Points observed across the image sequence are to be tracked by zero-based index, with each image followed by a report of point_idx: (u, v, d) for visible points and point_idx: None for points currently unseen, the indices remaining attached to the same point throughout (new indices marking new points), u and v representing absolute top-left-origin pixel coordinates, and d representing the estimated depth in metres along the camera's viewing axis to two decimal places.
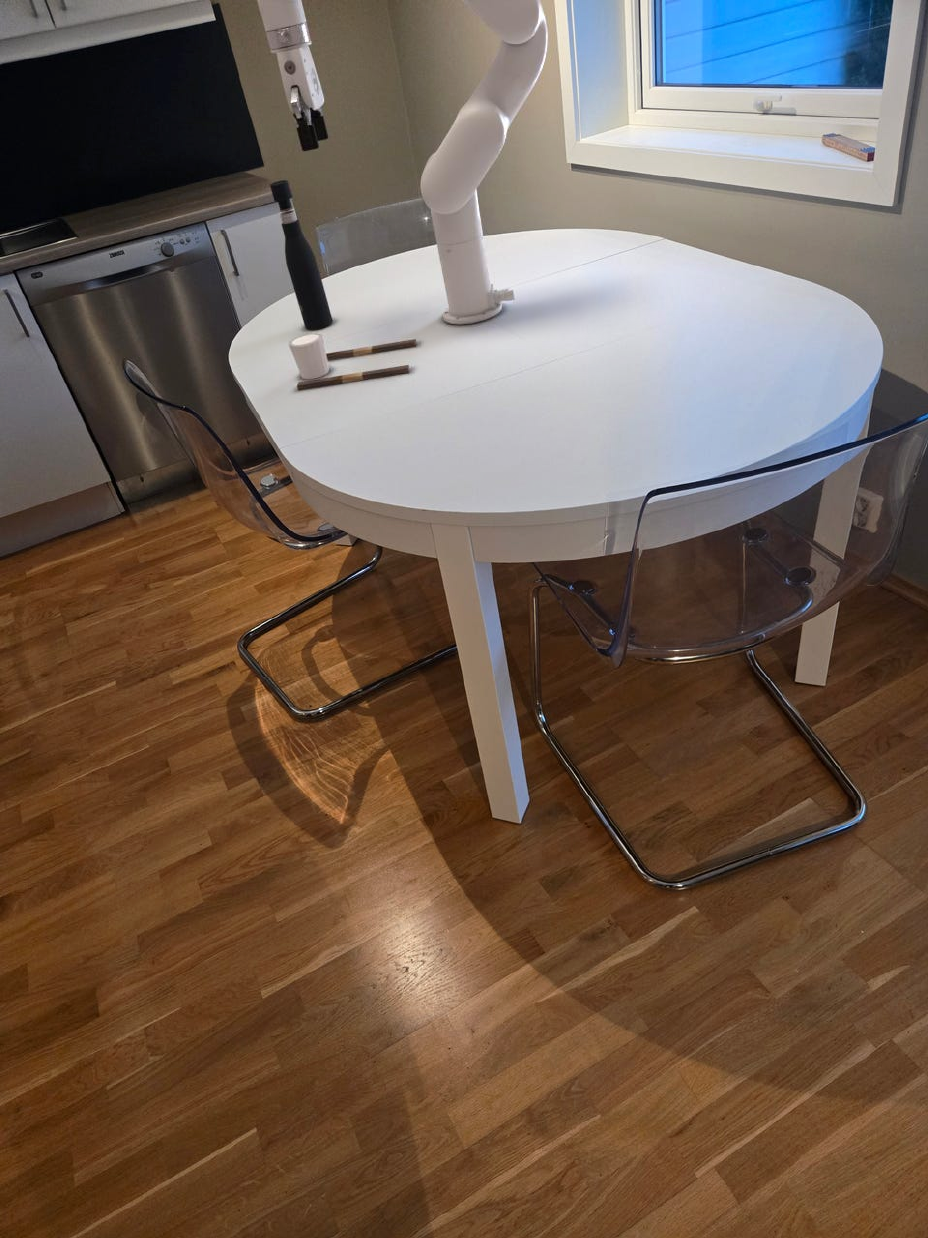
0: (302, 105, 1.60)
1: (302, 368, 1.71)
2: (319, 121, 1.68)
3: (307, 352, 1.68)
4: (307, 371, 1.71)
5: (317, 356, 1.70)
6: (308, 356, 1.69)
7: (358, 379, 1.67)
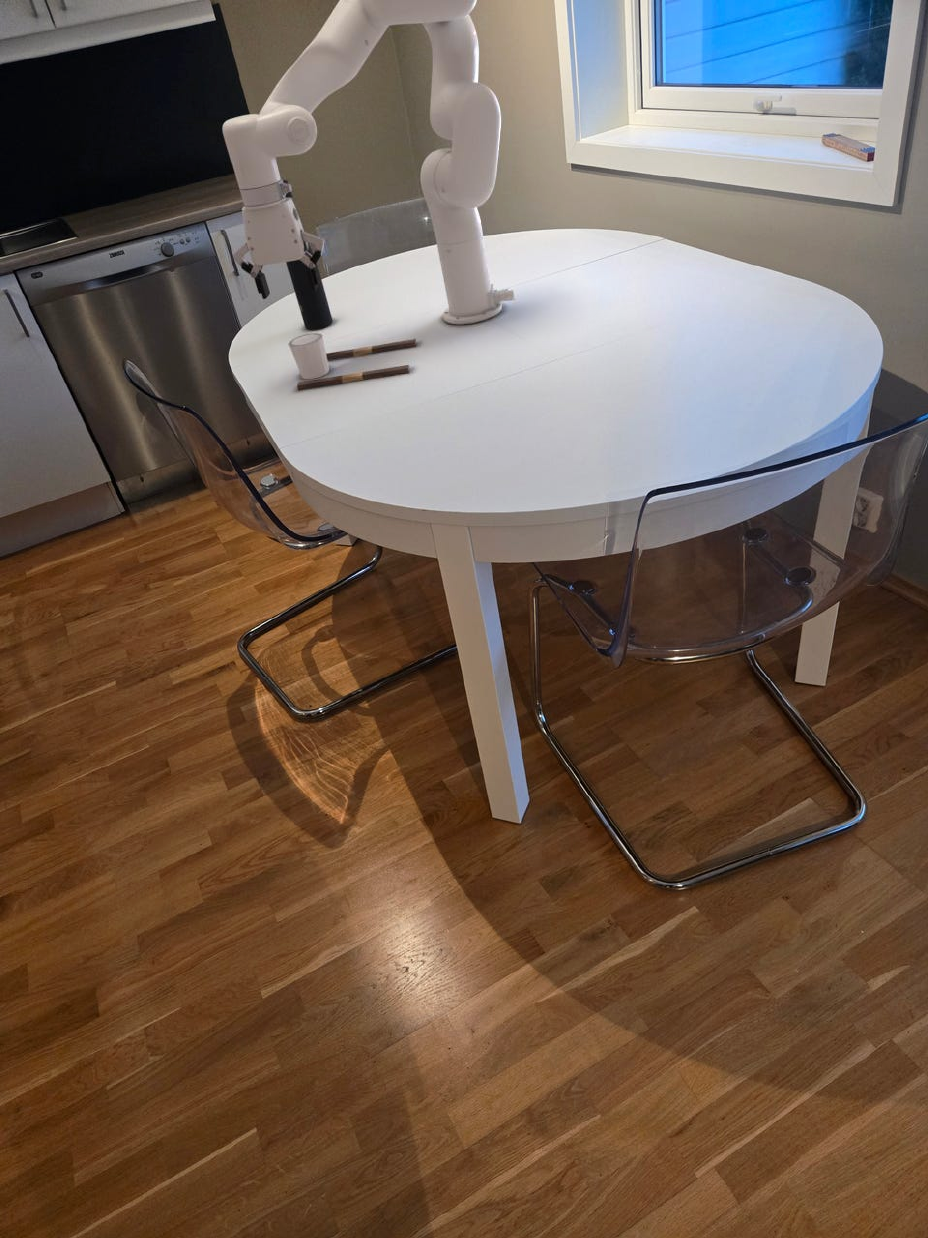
0: None
1: (302, 368, 1.71)
2: (264, 278, 1.64)
3: (307, 352, 1.68)
4: (307, 371, 1.71)
5: (317, 356, 1.70)
6: (308, 356, 1.69)
7: (358, 379, 1.67)
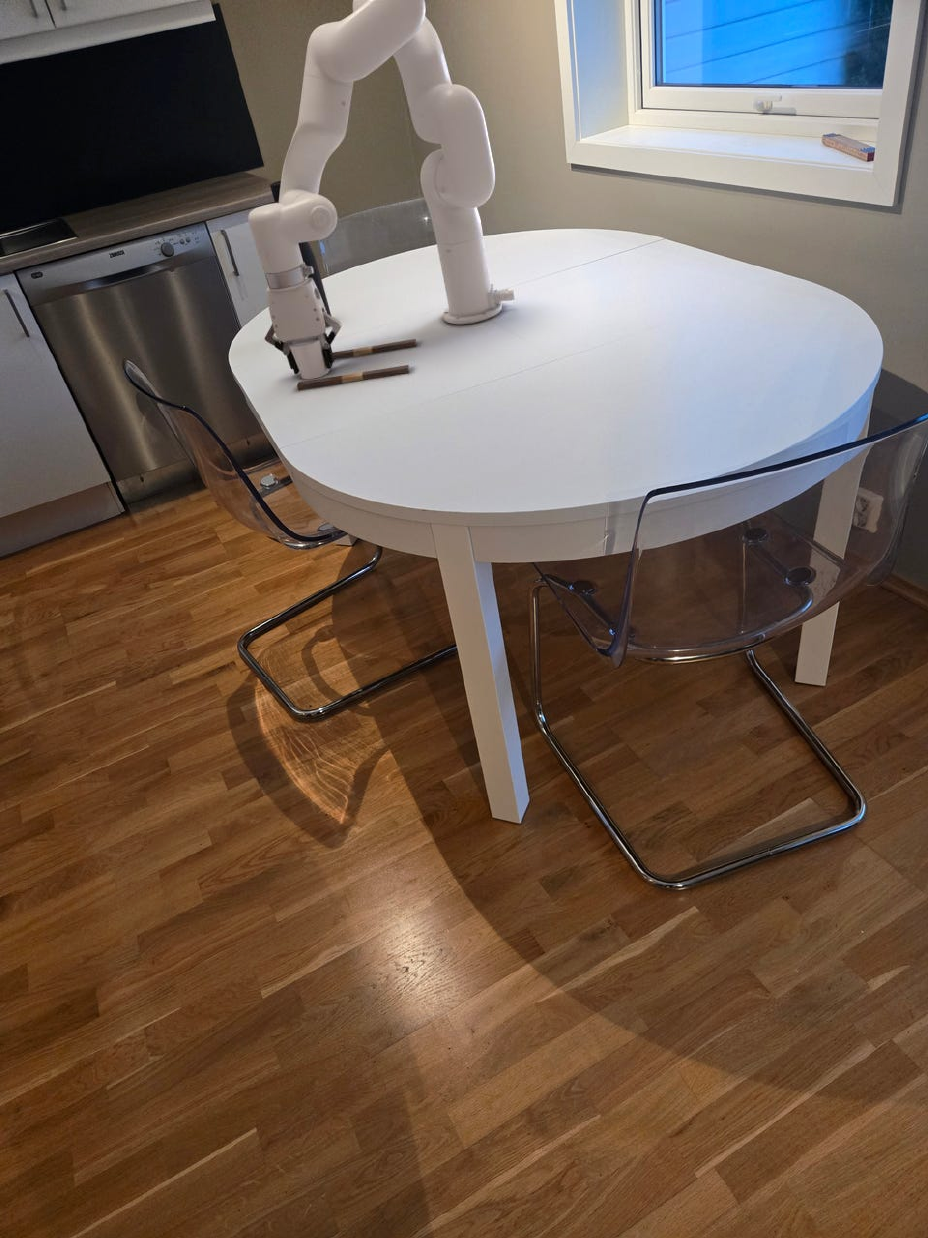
0: None
1: (302, 368, 1.71)
2: None
3: (307, 352, 1.68)
4: (307, 371, 1.71)
5: (317, 356, 1.70)
6: (308, 356, 1.69)
7: (358, 379, 1.67)
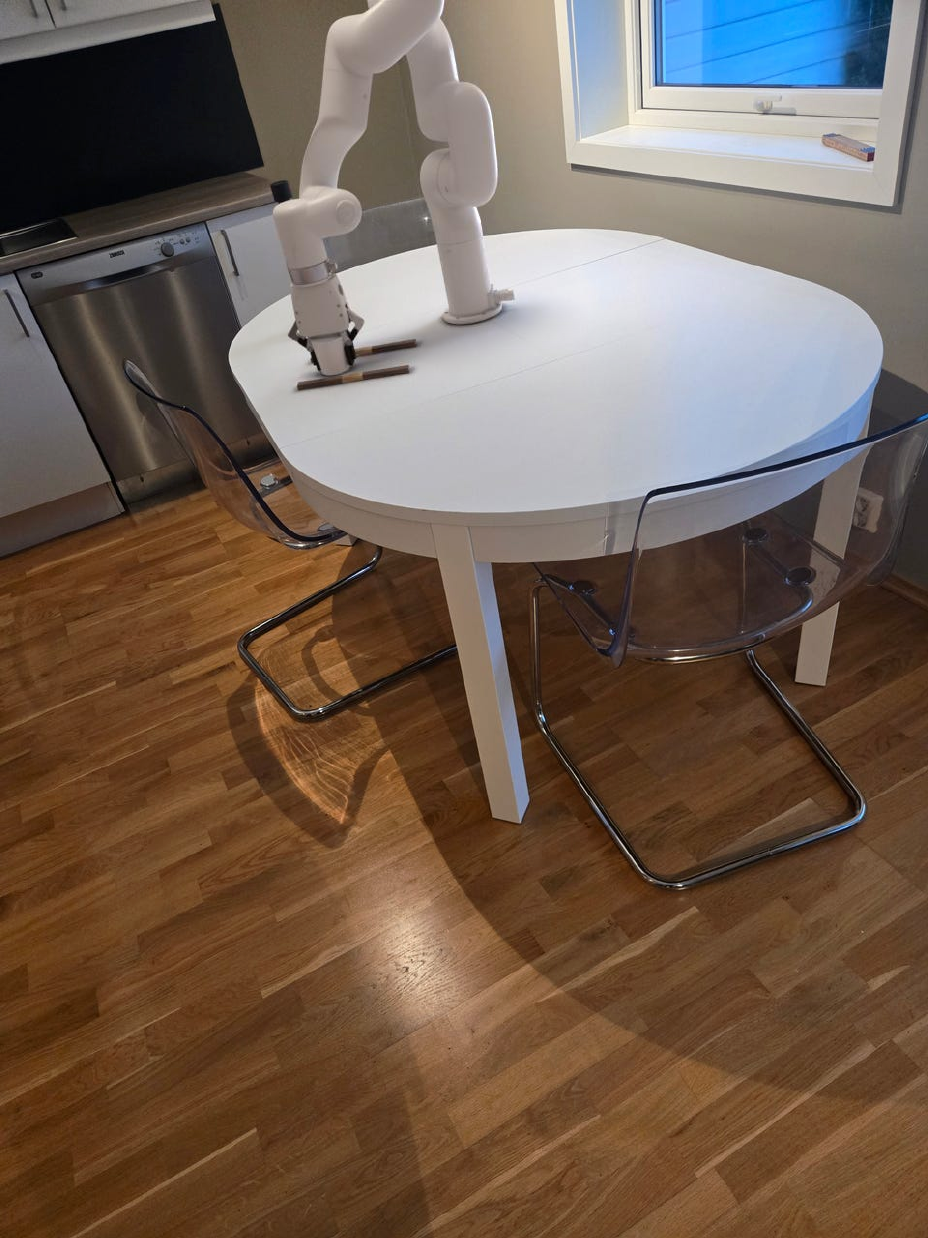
0: None
1: (322, 363, 1.70)
2: None
3: (328, 348, 1.68)
4: (327, 367, 1.70)
5: (338, 352, 1.69)
6: (329, 352, 1.68)
7: (358, 379, 1.67)
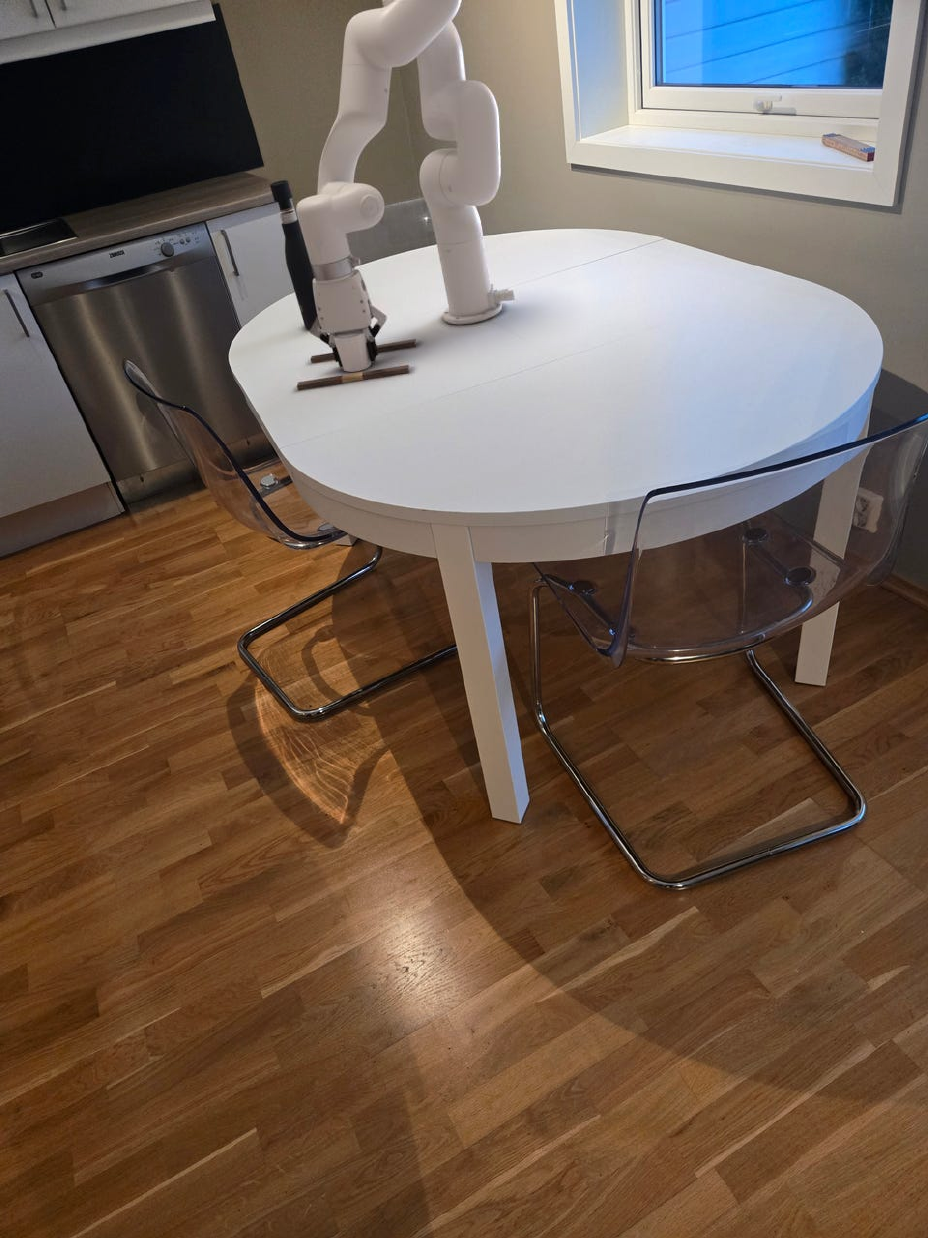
0: None
1: (344, 360, 1.70)
2: None
3: (351, 344, 1.67)
4: (349, 364, 1.70)
5: (361, 348, 1.68)
6: (351, 348, 1.67)
7: (358, 379, 1.67)
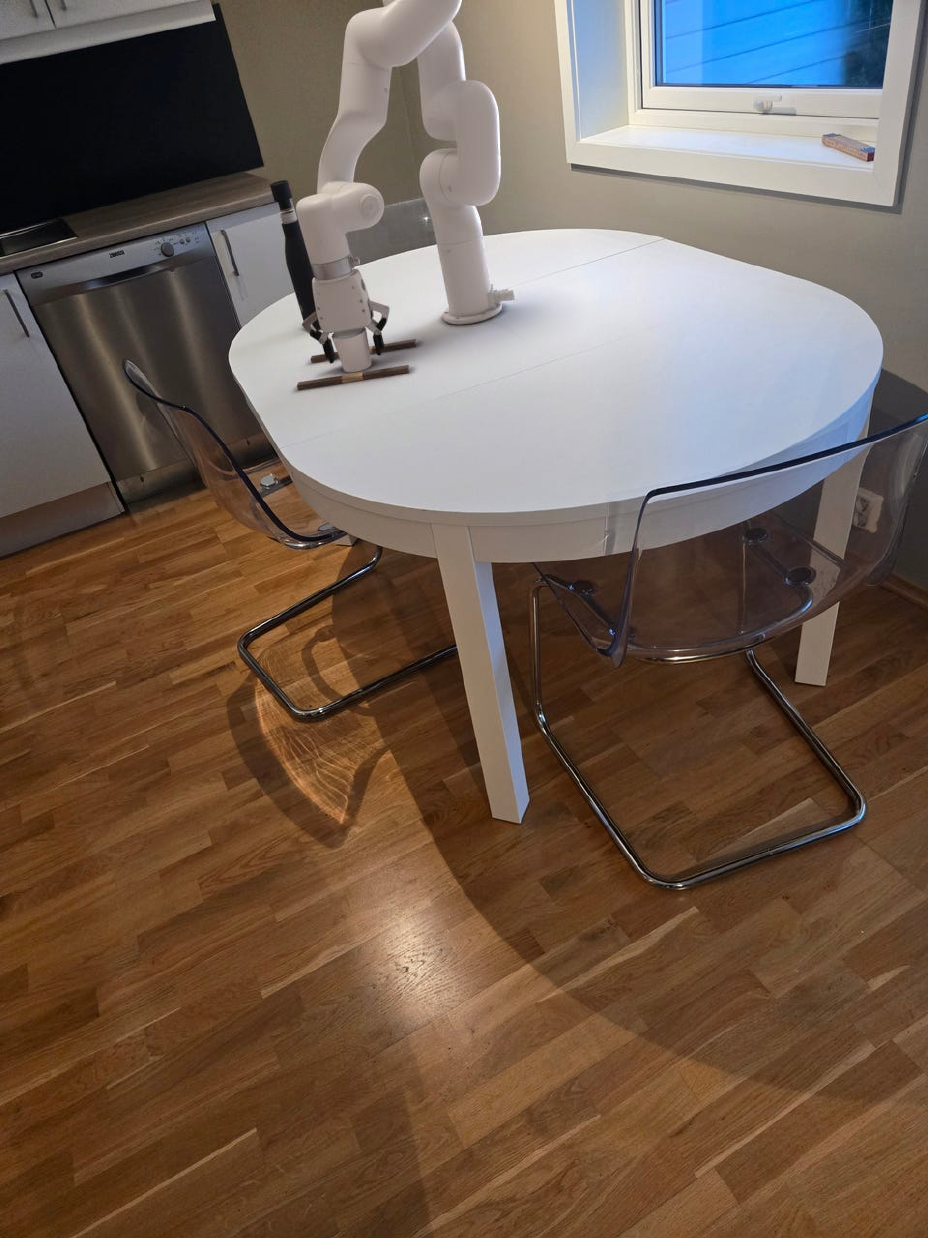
0: None
1: (344, 361, 1.70)
2: (331, 343, 1.71)
3: (350, 345, 1.67)
4: (350, 364, 1.70)
5: (360, 349, 1.68)
6: (351, 349, 1.68)
7: (358, 379, 1.67)
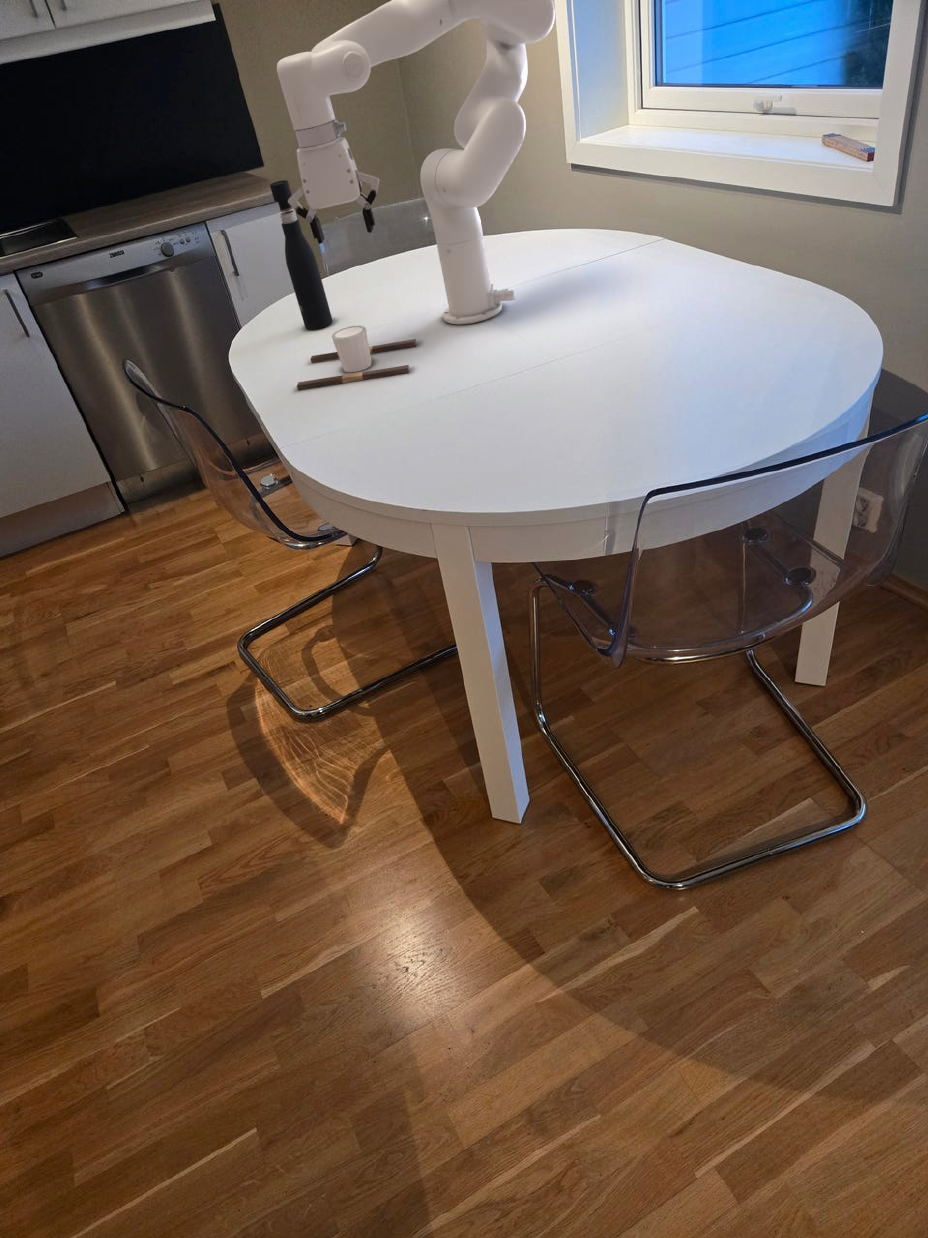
0: None
1: (344, 361, 1.70)
2: (319, 222, 1.64)
3: (350, 345, 1.67)
4: (350, 364, 1.70)
5: (360, 349, 1.68)
6: (351, 349, 1.68)
7: (358, 379, 1.67)
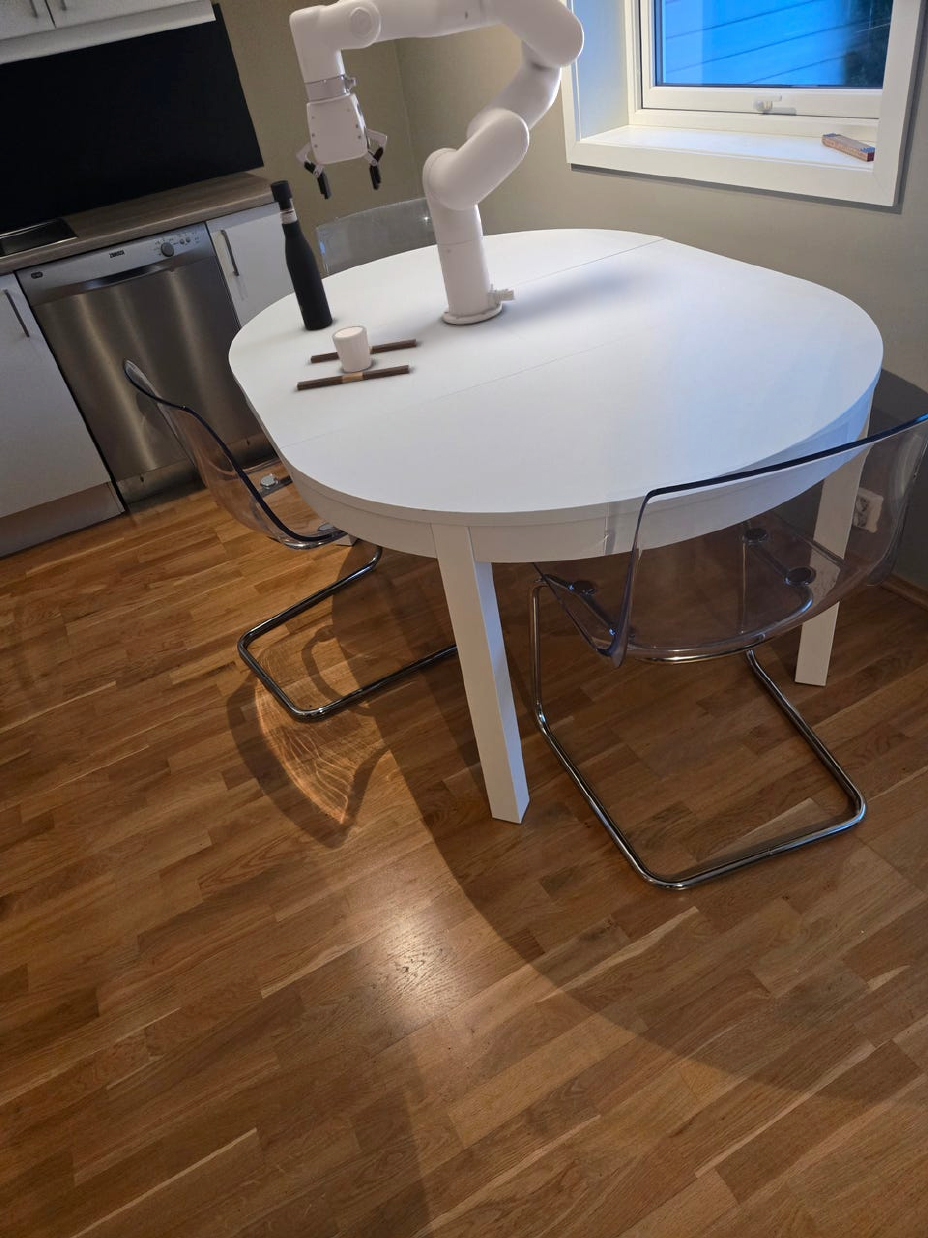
0: None
1: (344, 361, 1.70)
2: (326, 178, 1.66)
3: (350, 345, 1.67)
4: (350, 364, 1.70)
5: (360, 349, 1.68)
6: (351, 349, 1.68)
7: (358, 379, 1.67)
